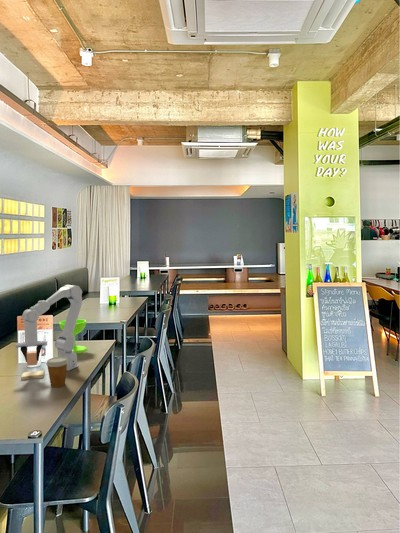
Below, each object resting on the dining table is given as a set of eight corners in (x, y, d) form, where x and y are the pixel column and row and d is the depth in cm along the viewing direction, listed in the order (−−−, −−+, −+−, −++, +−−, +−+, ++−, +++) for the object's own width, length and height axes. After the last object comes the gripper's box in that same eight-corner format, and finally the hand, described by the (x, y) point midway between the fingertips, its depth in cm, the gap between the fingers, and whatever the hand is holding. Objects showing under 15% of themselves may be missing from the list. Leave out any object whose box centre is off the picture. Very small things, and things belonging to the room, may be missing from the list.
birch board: (44, 373, 206) (44, 370, 206) (42, 377, 199) (42, 374, 199) (23, 375, 203) (23, 372, 203) (21, 379, 196) (20, 376, 196)
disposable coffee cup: (72, 382, 191) (71, 357, 191) (59, 389, 182) (58, 363, 182) (56, 380, 195) (55, 356, 194) (42, 387, 186) (41, 361, 185)
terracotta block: (37, 362, 204) (37, 350, 204) (36, 364, 199) (36, 352, 199) (28, 363, 203) (27, 351, 202) (27, 365, 198) (26, 353, 198)
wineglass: (76, 345, 260) (75, 318, 259) (92, 349, 250) (91, 320, 249) (54, 351, 247) (53, 322, 246) (71, 355, 238) (69, 325, 236)
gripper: (13, 336, 194) (15, 364, 195) (45, 334, 198) (47, 361, 199) (16, 333, 201) (17, 360, 202) (47, 331, 205) (48, 357, 206)
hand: (32, 360), depth 201 cm, fingers closed on terracotta block, 4 cm apart
